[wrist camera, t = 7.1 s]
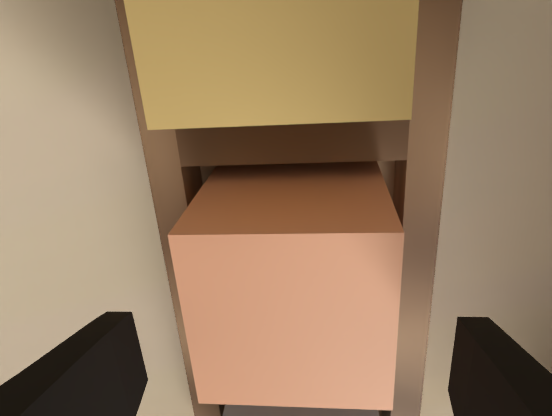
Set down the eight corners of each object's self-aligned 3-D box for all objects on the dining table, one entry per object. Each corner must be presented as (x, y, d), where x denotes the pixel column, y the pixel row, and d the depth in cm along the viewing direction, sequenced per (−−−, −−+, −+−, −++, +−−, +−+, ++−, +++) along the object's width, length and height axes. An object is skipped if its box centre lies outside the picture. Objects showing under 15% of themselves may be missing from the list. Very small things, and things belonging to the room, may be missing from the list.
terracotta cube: (375, 158, 13) (404, 232, 9) (371, 293, 15) (392, 410, 11) (218, 163, 14) (167, 235, 9) (234, 292, 16) (198, 403, 11)
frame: (399, 449, 19) (410, 509, 17) (222, 441, 20) (210, 497, 18) (452, -212, 10) (491, -281, 8) (124, -171, 11) (71, -222, 9)
